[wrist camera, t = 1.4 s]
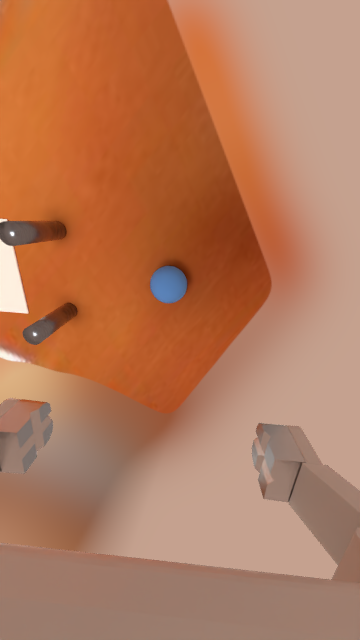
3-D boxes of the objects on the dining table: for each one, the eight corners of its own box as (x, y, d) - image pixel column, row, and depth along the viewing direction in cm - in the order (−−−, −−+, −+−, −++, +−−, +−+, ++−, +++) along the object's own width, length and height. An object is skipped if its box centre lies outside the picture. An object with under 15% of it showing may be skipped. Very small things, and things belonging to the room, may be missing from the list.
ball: (154, 261, 33) (146, 268, 28) (189, 264, 33) (187, 271, 28) (153, 295, 35) (146, 306, 30) (186, 297, 35) (185, 309, 30)
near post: (47, 220, 32) (-6, 220, 23) (64, 221, 32) (17, 221, 23) (50, 238, 33) (0, 245, 24) (67, 239, 33) (22, 246, 24)
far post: (61, 302, 36) (20, 326, 28) (76, 303, 36) (39, 328, 28) (63, 316, 37) (25, 343, 29) (78, 317, 37) (43, 345, 29)
